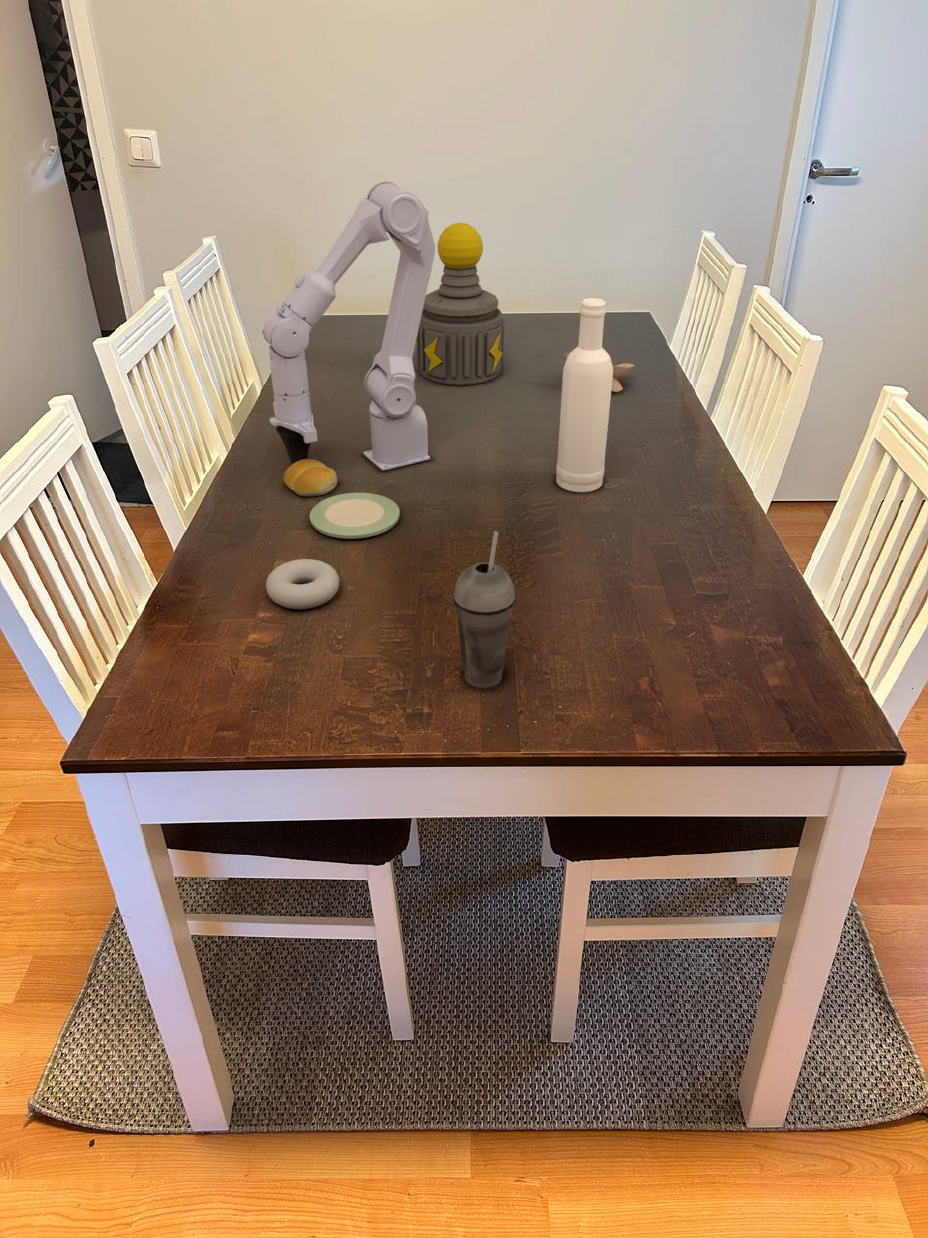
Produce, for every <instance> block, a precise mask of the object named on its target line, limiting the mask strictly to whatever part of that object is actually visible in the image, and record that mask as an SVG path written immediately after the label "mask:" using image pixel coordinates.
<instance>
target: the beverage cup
mask: <svg viewBox="0 0 928 1238" xmlns="http://www.w3.org/2000/svg"><path fill="white" fill-rule="evenodd" d="M498 537H499V531H497V530H494V531H493V536H492V541H491V549H490V553H489V554H490V555H489V561H488V562H486V561H485V562H477V563H474V564H472V565H470V566H468V567H467V568H465V569H464V570H463V571H462V573H461V574H460V575H459V577H458V578H457V580H456V582H455V586H454V591H453V595H452V601H453V603H454V609H455V613H456V615H457V622H458V633H459V641H460V651H461V659H462V660H461V661H462V668H463V673H464V679H465V681H466V682H467V684H469V685H471V686H473V687H475V688H479V689H480V688H481V689H487V688H493V687H495V686H496V685H498V684H499V683H500V682H501V680H502V679H503V677H502V675H503V670H504V669H505V667H504V666H505V659H506V654H507V653H506V652H507V645H508V638H509V631H510V630H509V629H510V623H511V618H512V616H513V612H514V608H515V604H516V601H517V595H516V592H515V585H514V583H513V581H512V579H511V576H510V575H509V574H508V572H507V571H506V570H505V569H503V568H502V567H501V566H500V565H497V564H496V563H495V557H496V551H497V545H498V540H499V539H498Z"/></svg>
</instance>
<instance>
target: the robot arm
mask: <svg viewBox="0 0 928 1238" xmlns="http://www.w3.org/2000/svg"><path fill="white" fill-rule="evenodd" d="M390 238H391V240H392V242H393V243H394V245H395V246H396V247H397V249H398V250H399V252H400V254H399V258H398V259H399V260H398V263H397V269H396V274H395V279H394V284H393V288H392V294H391V297H390V303H389V310H388V313H387V319H386V323H385V329H384V333H383V338H382V344H381V349H380V350H379V352H377V353H376V355H374V356H373V357H374V358H373V363H372V365H371V367H370V369H369V370H368V371H367V373H366V374H365V377H364V379H363V380H364V381H363V385H364V390H365V392H366V394H367V395H368V396H369V397H370V398H371V401H370V405H369V408H368V409H369V410H368V411H369V424H370V425H369V427H370V440H371V444H370V445H371V449H369V450H365V451H363V452H362V453H363V456H365V458H367V459H368V460H369V461H371V463H373V465H375V467H376V468H378V469H379V470H381V471H382V472H383V471H389V470H393V469H397V468H400V467H405V466H409V465H413V464H417V463H422V462H426V461H430V459H431V456H430V455H429V439H428V438H429V436H428V435H429V434H428V420H427V417H426V413H425V411H424V409H423V408H422V406H421V405H419V404H416V401H417V394H416V390H415V380H416V372H415V368H414V363H413V356H414V352H415V349H416V348H415V346H416V344H417V334H418V329H419V325H420V320H421V315H422V311H423V306H424V302H425V297H426V295H427V293H428V292H427V291H428V287H429V282H430V278H431V273H432V269H433V264H434V259H435V256H436V244H435V243H436V242H435V239H434V235H433V233H432V229H431V224H430V222H429V211H428V209H427V207H426V206H425V205H424V203H422V201H421V200H420V198H419V197H418V196H417V195H416V194H415V193H413V192H411V191H408V190H405V189H403V188H402V187H399V186H398V185H397V184H396V183H394V182H392V181H387V180H383V181H380V182H377V183H375V184H374V185H372V187H370V189H369V190H368V192H367V195H366V197H363V198H362V199H361V200H360V201H359V202H358V204H357V206H356V207H355V210H354V211H353V214H352V216H351V218H349V220H348V223H347V224H346V225H345V226H344V228H343V230H342V232H341V233H340V234H339V236H338V238H337V239H336V241H335V242H334V244H333V245H332V247H331V248H330V249H329V251H328V253H327V254H326V256H325V258H324V259H323V261H322V262H321V264H320V265H319V267H318V268H317V269H316V270H310V271H306V272H304V274H303V275H302V277H300V276H296V278H294V281H293V284H294V285H295V286H294V288H293V289H292V290H291V292H290V293H289V294H288V296H287V297H286V299H285V300H284V301H283V303H282V304H281V303H278V305H277V306H276V308H275V311H276V312H275V313H271V314H270V315H269V316H268V317H267V318H266V320H265V322H264V324H263V329H262V330H261V333H262V336H263V338H264V340H265V341H266V343H268V344H269V346H268V351H269V354H268V355H269V359H270V363H269V367H270V377H271V383H272V384H271V385H272V391H273V393H272V394H273V400H274V401H273V402H272V406H273V413H274V416H273V417H269V423H270V424H271V425H272V426H273V427H275V431H276V432H277V435H279V437H280V438H281V440H282V442H283V444H284V447H285V449H286V452H287V455H288V458H289V461H290V464H291V465H292V464H294V463H295V462H297V461H300V460H304V459H309V451H310V448H311V444H312V443H314V442H318V432H317V429H316V428H315V424H314V415H313V412H312V406H311V395H310V385H309V376H308V375H309V374H308V365H307V360H306V353H305V350H306V349H308V347H309V342H310V335H309V334H310V332H311V331H312V330H313V329H314V327H315V326H316V325H317V324H318V322H319V321H320V319H321V318H322V316H324V314H325V312H326V311H327V310H328V309H329V308H330V306H331V304H332V303H333V302H334V301H335V299H336V297H337V296H336V285H337V283H338V282H339V280H340V279H341V278H342V277H343V276H344V275H345V273H346V272H347V271H348V269H350V268H351V266H352V265H353V264H354V262H355V261H356V260H357V259H358V257H359V256H360V255H361V254H362V253H363V251H364V250H365V249H366V247H367V246H369V245H371V244H377V243H382V242H387V241H390Z"/></svg>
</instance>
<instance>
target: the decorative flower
mask: <svg viewBox="0 0 928 1238" xmlns="http://www.w3.org/2000/svg"><path fill="white" fill-rule="evenodd" d="M569 353H570V352H565V353H562V354H560V356H561V357H562V358H563V359H564V360H565V361H566V360H567V358H568V355H569ZM612 366H613V378H612V388H611V392H616V393H618V392H620V391H622V390H623V389H624V388H623V386H622V385H621V383H620V381H619V379H618V378H617V377H619V376H622V375H625V374H627V373H629V372H631V371H633V370H634V367H635V366H636V365H635V364H632V363H620V364H616V365H615V364H612Z"/></svg>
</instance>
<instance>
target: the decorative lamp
mask: <svg viewBox="0 0 928 1238" xmlns="http://www.w3.org/2000/svg"><path fill="white" fill-rule="evenodd" d="M483 252H484V242H483V239H482V236H481V234H480V233H479V232H478V231H477V229H476V228H475V227H474V226H472V225H470V224H468V223H466V222H455V223H452V224H450V225H449V226H447V227H445V228H444V229H443V230H442V232H441V233H440V235H439V238H438V241H437V254H438V257H439V259H440V261H441V263H442V264H443V265H444V266H443V268H442V269H443V270H442V272H443V274H442V275H441V278H440V282H441V284H439V286H438V289H435V290H433V291H431V292H429V293H426V297H425V302H424V306H423V311H422V315H421V320H420V325H419V329H418V334H417V338H416V364H417V366H418V367H419V372H420V374H421V376H422V377H424V378H425V379H427V380H428V381H431V382H433V383H435V384H441V385H445V386H460V387H462V386H475V385H480V384H484V383H487V382H491V381H493V380H494V379H495V378H497V377H498V376H499V375H500V373H501V371H502V367H504V366H503V365H504V349H505V320H504V319H503V313H502V311H501V309H500V308H498V307H499V299H498V297H497V296H496V295H495V294H493V293H491V292H489V291H487V290H485V289H483V288H482V285H481V284H480V276H479V275H478V274H477V273H478V269H477V265H478V263H479V262H480V260H481V257H482V255H483Z"/></svg>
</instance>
